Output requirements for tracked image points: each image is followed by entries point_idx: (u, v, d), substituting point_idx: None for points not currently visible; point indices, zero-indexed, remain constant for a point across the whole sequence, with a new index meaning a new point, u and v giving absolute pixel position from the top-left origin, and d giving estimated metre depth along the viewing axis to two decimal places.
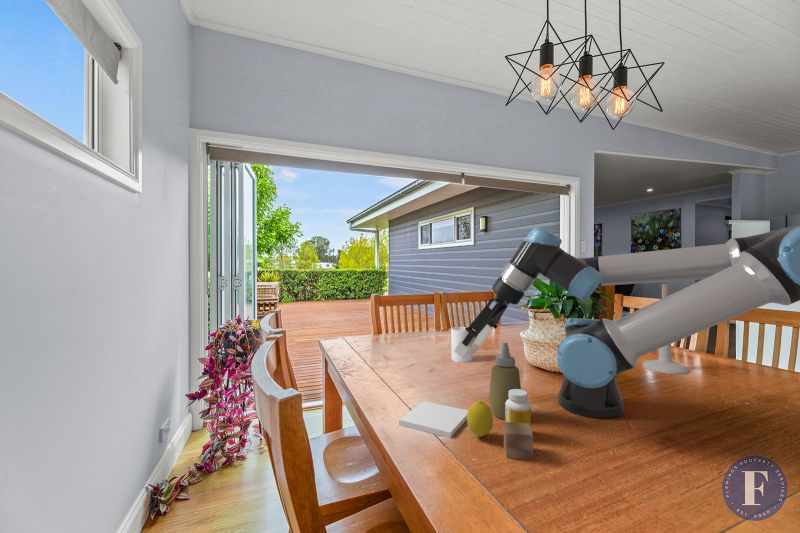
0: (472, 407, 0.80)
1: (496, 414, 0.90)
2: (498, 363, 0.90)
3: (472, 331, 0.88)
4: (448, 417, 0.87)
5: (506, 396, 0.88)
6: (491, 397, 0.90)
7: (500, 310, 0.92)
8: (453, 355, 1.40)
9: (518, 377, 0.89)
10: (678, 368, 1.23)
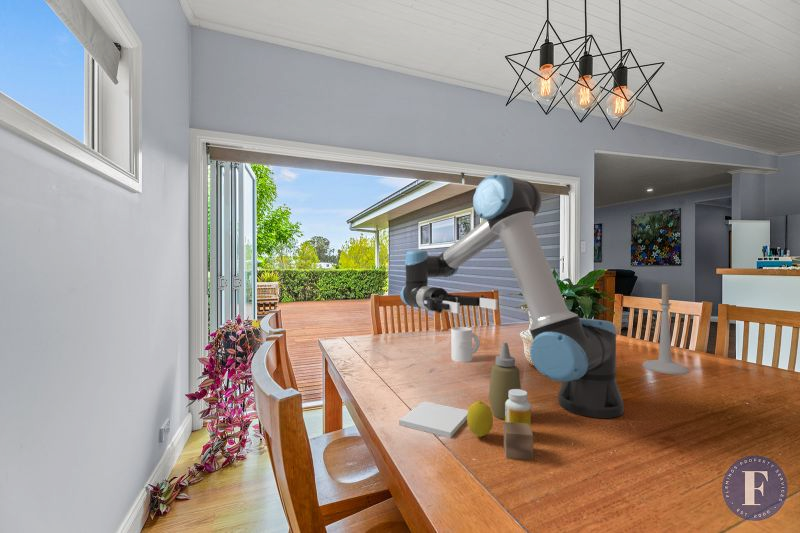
0: (472, 407, 0.80)
1: (496, 414, 0.90)
2: (498, 363, 0.90)
3: None
4: (448, 417, 0.87)
5: (506, 396, 0.88)
6: (491, 397, 0.90)
7: (439, 296, 1.10)
8: (453, 355, 1.40)
9: (518, 377, 0.89)
10: (678, 368, 1.23)
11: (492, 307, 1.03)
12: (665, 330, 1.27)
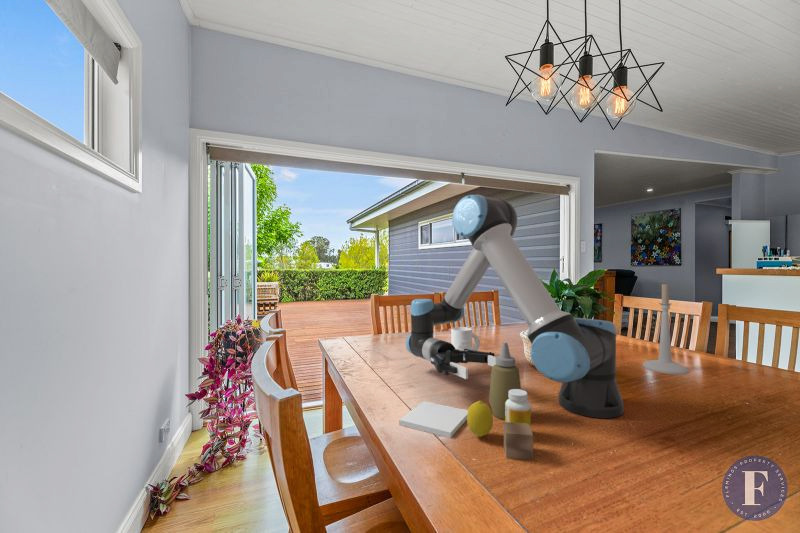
0: (472, 407, 0.80)
1: (496, 414, 0.90)
2: (498, 363, 0.90)
3: (437, 366, 0.99)
4: (448, 417, 0.87)
5: (506, 396, 0.88)
6: (491, 397, 0.90)
7: (446, 352, 1.08)
8: None
9: (518, 377, 0.89)
10: (678, 368, 1.23)
11: None
12: (665, 330, 1.27)
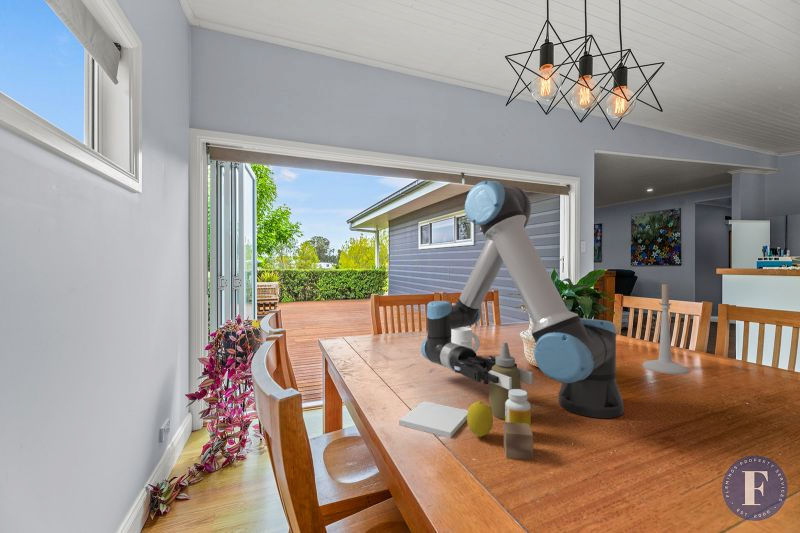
0: (472, 407, 0.80)
1: (496, 414, 0.90)
2: (498, 363, 0.90)
3: (476, 375, 0.90)
4: (448, 417, 0.87)
5: (506, 396, 0.88)
6: (491, 397, 0.90)
7: (469, 359, 0.99)
8: None
9: (518, 377, 0.89)
10: (678, 368, 1.23)
11: (526, 380, 0.89)
12: (665, 330, 1.27)
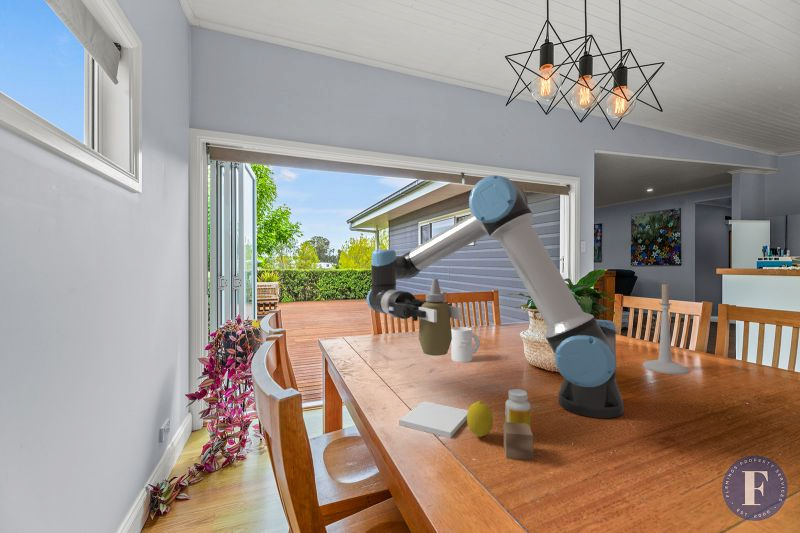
0: (472, 407, 0.80)
1: (424, 350, 0.87)
2: (427, 299, 0.87)
3: None
4: (448, 417, 0.87)
5: (433, 331, 0.85)
6: (420, 333, 0.88)
7: (405, 301, 0.97)
8: (453, 355, 1.40)
9: (447, 313, 0.87)
10: (678, 368, 1.23)
11: (455, 317, 0.87)
12: (665, 330, 1.27)
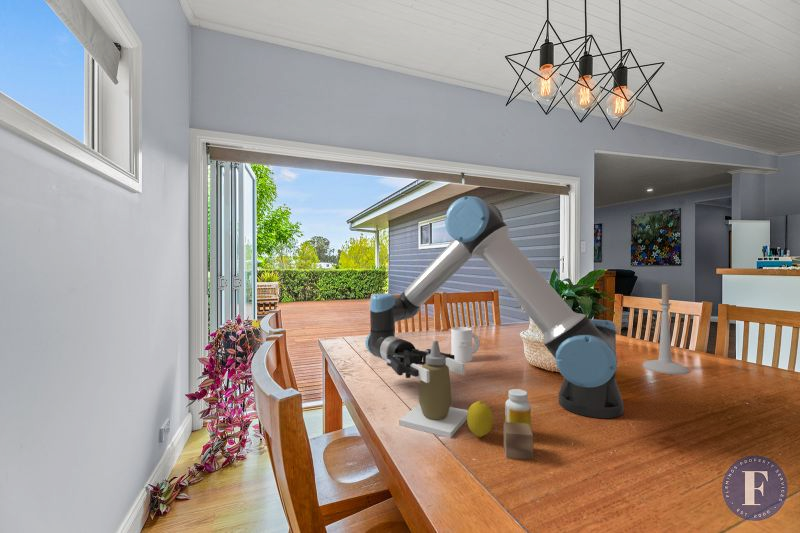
0: (472, 407, 0.80)
1: (424, 413, 0.87)
2: (427, 361, 0.87)
3: None
4: (448, 417, 0.87)
5: (433, 395, 0.85)
6: (420, 396, 0.88)
7: (404, 352, 0.97)
8: None
9: (447, 376, 0.87)
10: (678, 368, 1.23)
11: (458, 372, 0.88)
12: (665, 330, 1.27)
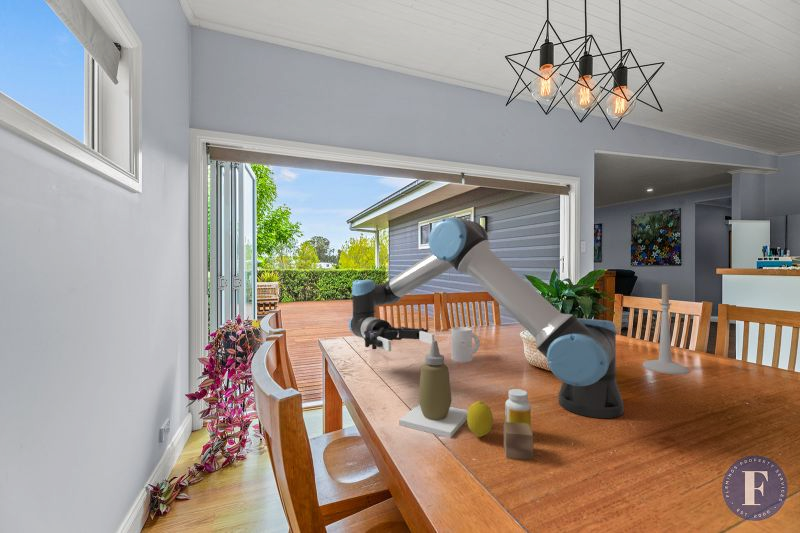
0: (472, 407, 0.80)
1: (424, 414, 0.87)
2: (426, 361, 0.88)
3: None
4: (448, 417, 0.87)
5: (433, 395, 0.85)
6: (419, 396, 0.88)
7: (379, 329, 1.09)
8: (453, 355, 1.40)
9: (446, 376, 0.87)
10: (678, 368, 1.23)
11: (429, 342, 1.01)
12: (665, 330, 1.27)
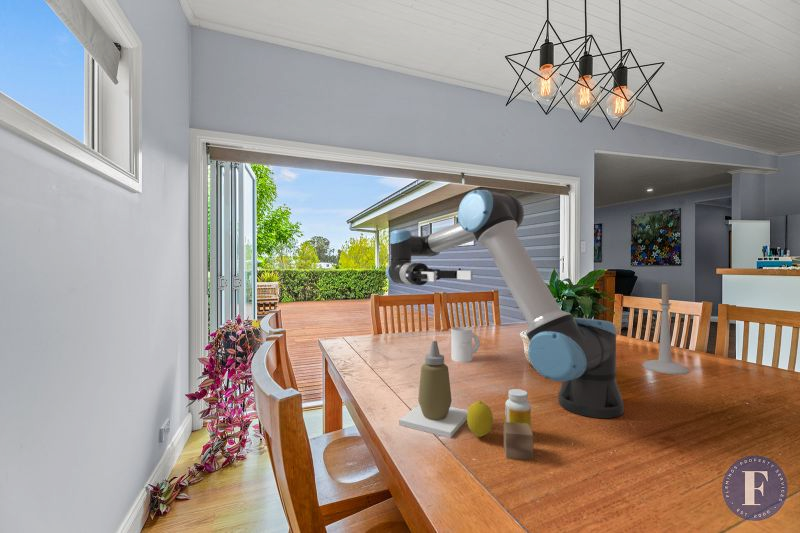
0: (472, 407, 0.80)
1: (424, 414, 0.87)
2: (426, 361, 0.88)
3: None
4: (448, 417, 0.87)
5: (433, 395, 0.85)
6: (419, 396, 0.88)
7: (420, 269, 1.19)
8: (453, 355, 1.40)
9: (446, 376, 0.87)
10: (678, 368, 1.23)
11: (467, 278, 1.12)
12: (665, 330, 1.27)
